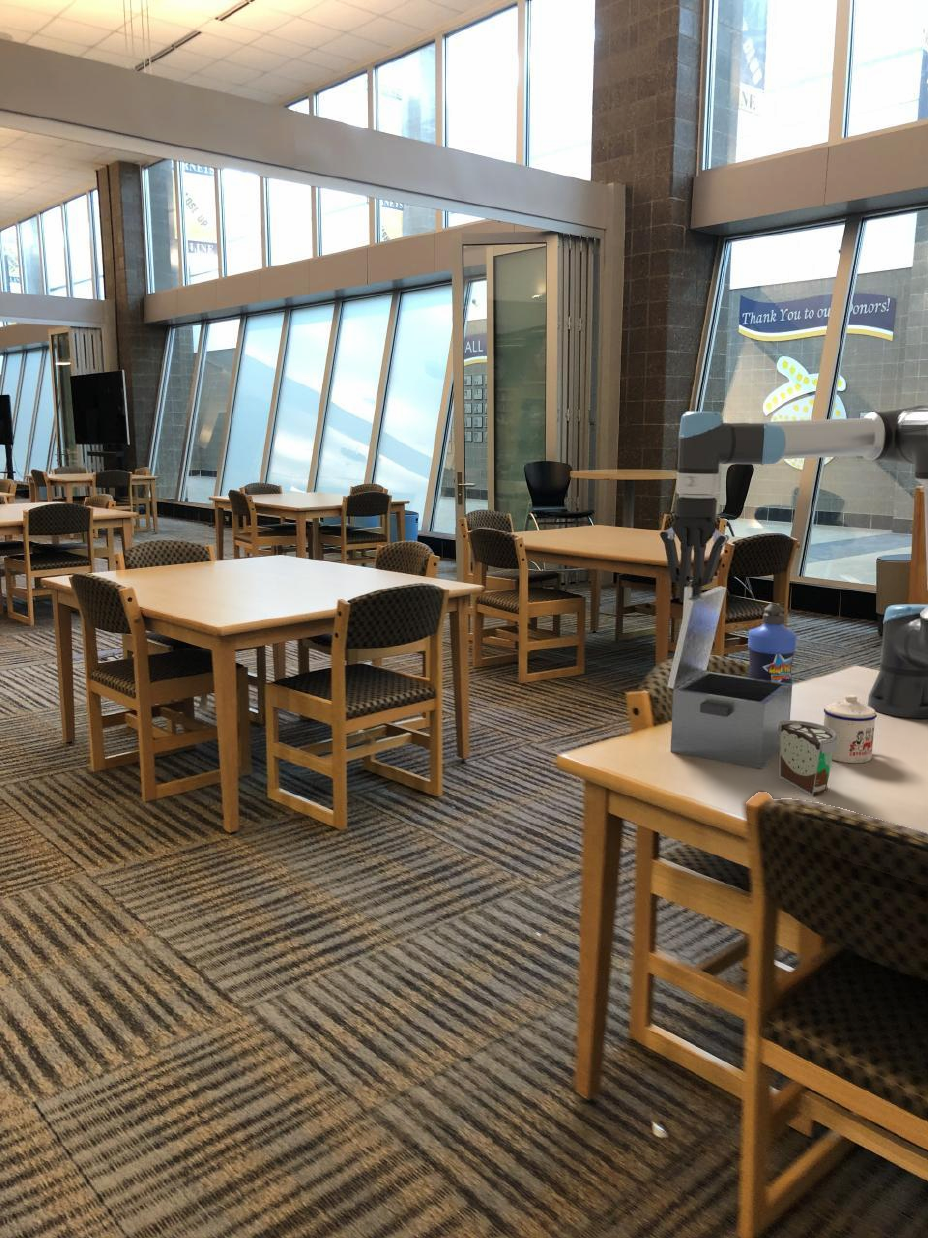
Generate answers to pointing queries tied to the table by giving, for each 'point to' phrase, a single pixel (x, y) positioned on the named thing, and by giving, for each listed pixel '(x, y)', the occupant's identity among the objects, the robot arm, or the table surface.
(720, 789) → the table surface
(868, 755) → the teacup with lid
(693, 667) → the grey box lid
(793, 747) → the food container
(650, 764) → the table surface
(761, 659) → the water bottle
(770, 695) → the grey storage box
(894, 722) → the table surface
